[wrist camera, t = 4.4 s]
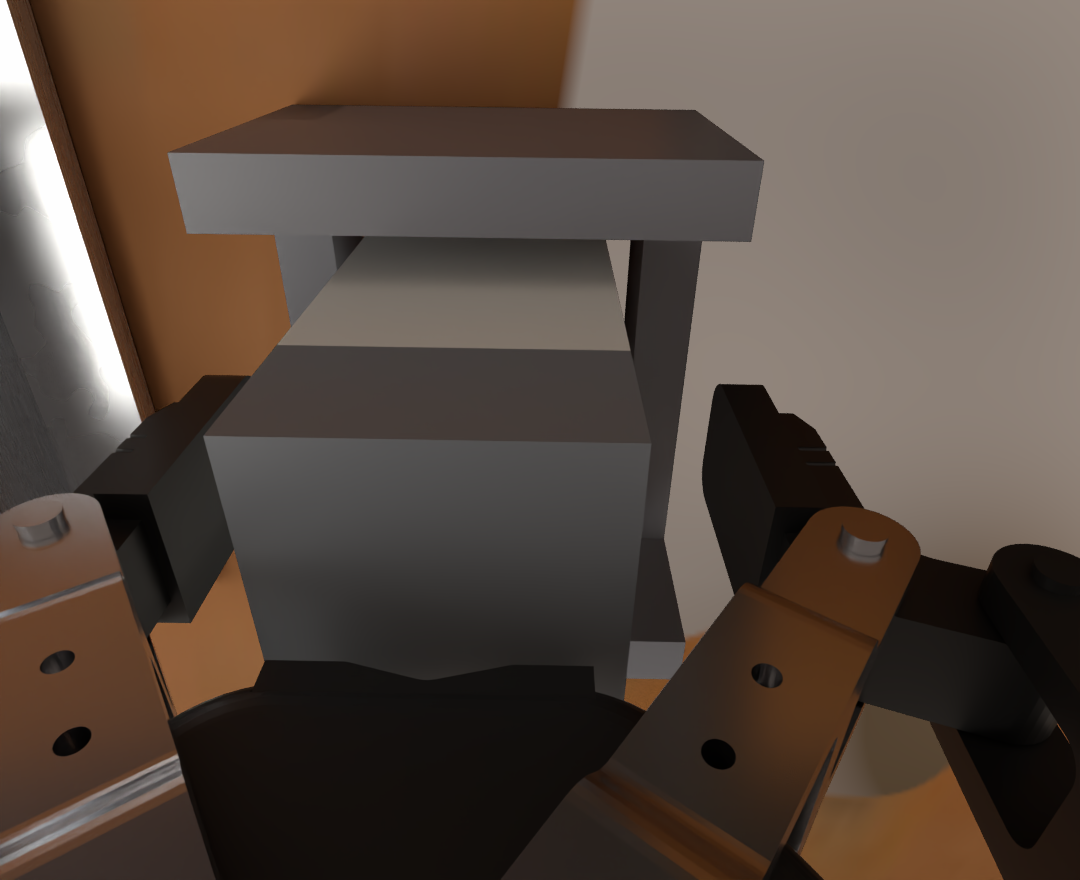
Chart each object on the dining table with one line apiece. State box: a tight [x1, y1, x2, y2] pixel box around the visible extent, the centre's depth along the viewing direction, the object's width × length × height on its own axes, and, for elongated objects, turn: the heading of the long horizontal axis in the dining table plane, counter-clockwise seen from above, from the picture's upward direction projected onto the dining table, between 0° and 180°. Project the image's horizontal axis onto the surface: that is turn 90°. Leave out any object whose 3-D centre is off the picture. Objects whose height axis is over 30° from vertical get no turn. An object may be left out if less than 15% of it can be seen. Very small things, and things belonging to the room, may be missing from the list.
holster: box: [168, 105, 764, 679], centre depth 13 cm, size 7×9×5 cm
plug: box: [203, 236, 651, 701], centre depth 12 cm, size 4×6×9 cm, turn 0°
